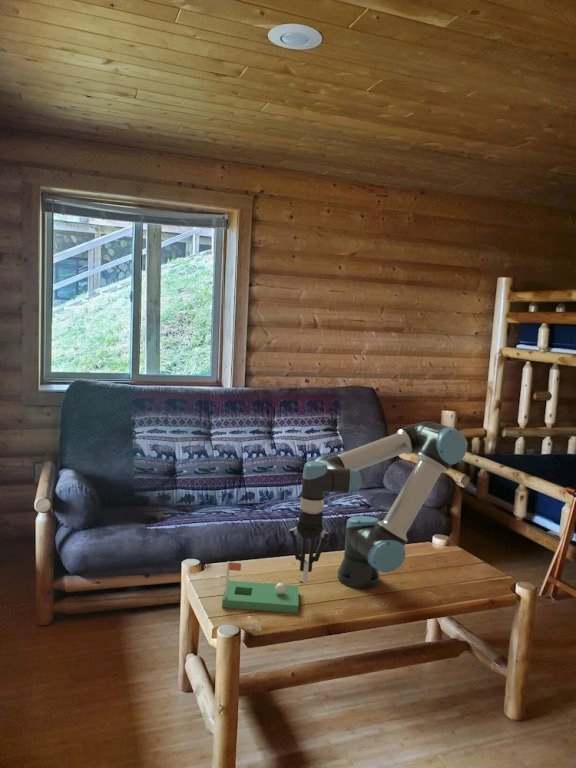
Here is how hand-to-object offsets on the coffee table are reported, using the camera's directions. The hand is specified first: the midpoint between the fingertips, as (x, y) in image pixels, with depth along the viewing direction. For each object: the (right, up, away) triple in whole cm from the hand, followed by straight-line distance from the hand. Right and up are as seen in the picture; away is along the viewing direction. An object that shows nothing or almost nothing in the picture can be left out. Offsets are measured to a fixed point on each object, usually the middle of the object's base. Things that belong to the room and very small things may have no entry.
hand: (304, 580), depth 191 cm
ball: (-8, -3, +1) cm, 8 cm away
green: (-14, -7, +1) cm, 16 cm away
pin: (-23, -4, -5) cm, 24 cm away
